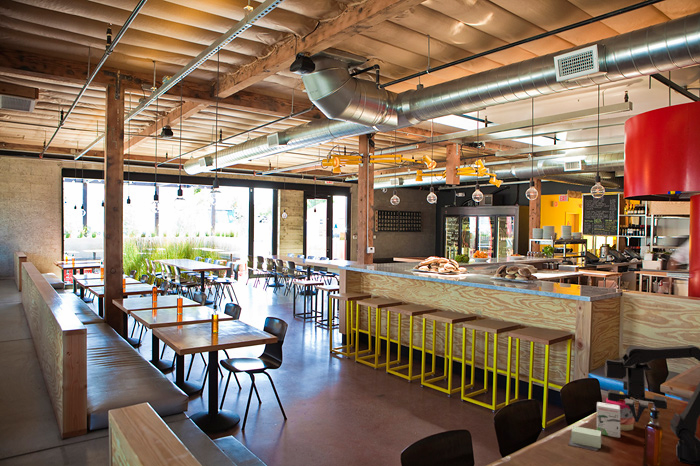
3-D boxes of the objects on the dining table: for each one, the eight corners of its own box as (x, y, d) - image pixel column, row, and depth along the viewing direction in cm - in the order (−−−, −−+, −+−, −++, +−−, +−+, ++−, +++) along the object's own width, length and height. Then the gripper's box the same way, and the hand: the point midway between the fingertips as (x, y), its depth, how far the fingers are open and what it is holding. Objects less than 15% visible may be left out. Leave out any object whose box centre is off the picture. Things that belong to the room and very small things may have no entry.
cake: (609, 419, 205) (608, 385, 206) (636, 425, 198) (635, 390, 199) (603, 426, 197) (603, 391, 198) (632, 432, 190) (631, 396, 191)
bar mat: (599, 440, 183) (599, 439, 183) (597, 451, 174) (597, 450, 174) (571, 435, 188) (571, 434, 188) (568, 445, 179) (568, 444, 179)
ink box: (596, 433, 190) (596, 405, 190) (596, 429, 194) (596, 401, 194) (620, 438, 185) (620, 408, 186) (620, 433, 190) (620, 405, 190)
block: (601, 431, 181) (573, 425, 186) (600, 436, 176) (571, 430, 181) (601, 442, 181) (573, 437, 186) (600, 448, 175) (571, 442, 181)
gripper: (664, 378, 174) (665, 419, 174) (608, 371, 184) (609, 410, 184) (666, 386, 165) (667, 430, 165) (607, 378, 175) (608, 419, 174)
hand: (636, 421), depth 172 cm, fingers closed
